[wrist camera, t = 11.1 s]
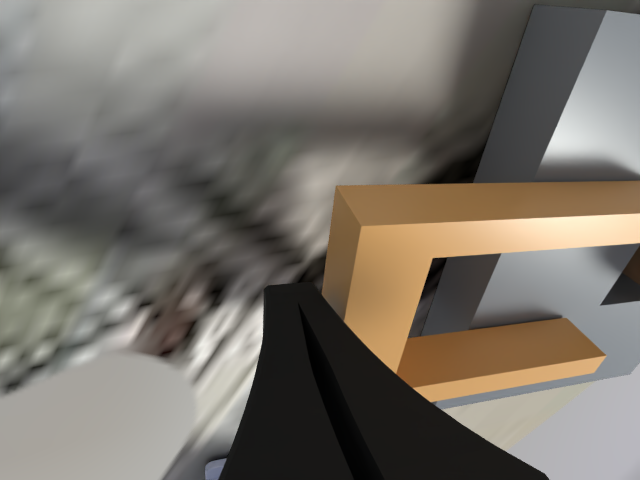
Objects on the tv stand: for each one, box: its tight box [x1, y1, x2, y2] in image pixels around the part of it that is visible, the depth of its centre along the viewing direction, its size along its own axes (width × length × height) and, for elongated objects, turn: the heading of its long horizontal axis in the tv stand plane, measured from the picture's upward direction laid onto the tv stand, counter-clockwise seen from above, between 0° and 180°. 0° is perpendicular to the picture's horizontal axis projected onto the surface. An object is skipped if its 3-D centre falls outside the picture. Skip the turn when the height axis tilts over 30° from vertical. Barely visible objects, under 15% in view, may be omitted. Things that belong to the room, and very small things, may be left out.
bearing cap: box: [322, 181, 640, 402], centre depth 12 cm, size 11×7×2 cm, turn 84°
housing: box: [421, 5, 640, 409], centre depth 16 cm, size 12×16×2 cm
